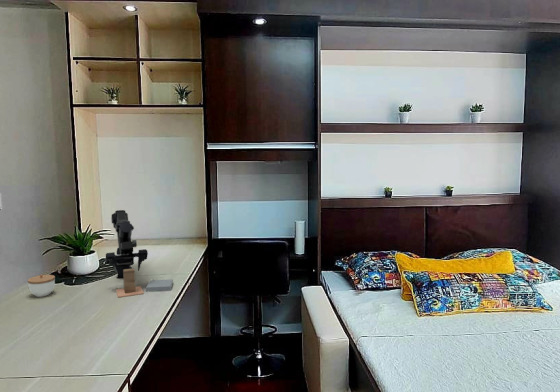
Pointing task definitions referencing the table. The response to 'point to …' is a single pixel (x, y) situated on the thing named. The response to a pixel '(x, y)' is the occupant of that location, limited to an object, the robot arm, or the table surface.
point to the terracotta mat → (122, 294)
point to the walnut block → (129, 280)
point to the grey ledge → (159, 285)
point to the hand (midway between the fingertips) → (128, 271)
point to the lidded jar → (41, 285)
